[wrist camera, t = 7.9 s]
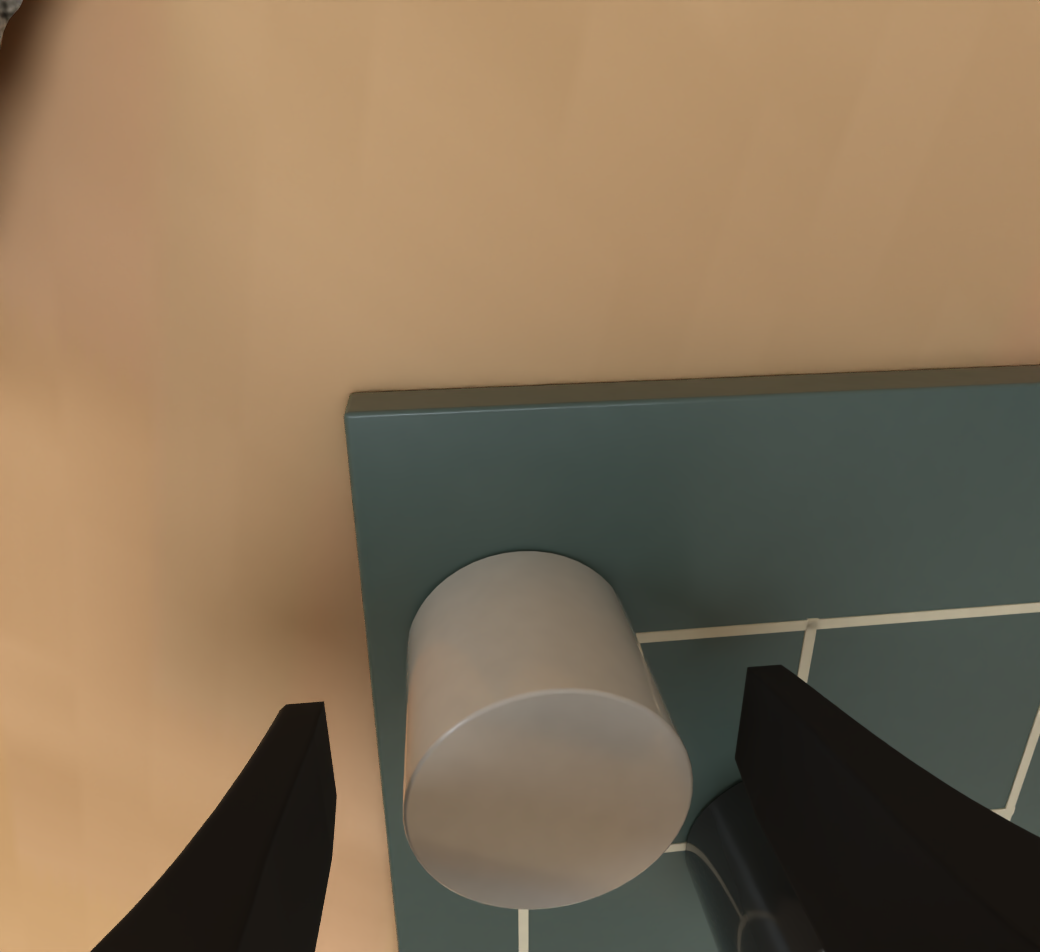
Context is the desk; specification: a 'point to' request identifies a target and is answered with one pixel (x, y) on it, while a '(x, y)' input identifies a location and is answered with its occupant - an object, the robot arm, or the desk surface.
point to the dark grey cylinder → (744, 881)
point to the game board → (725, 580)
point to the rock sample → (7, 13)
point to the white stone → (536, 737)
